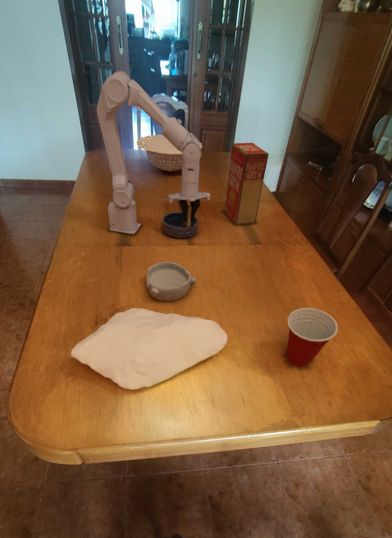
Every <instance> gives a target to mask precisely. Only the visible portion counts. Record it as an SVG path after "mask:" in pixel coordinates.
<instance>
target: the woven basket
mask: <svg viewBox="0 0 392 538" xmlns="http://www.w3.org/2000/svg"><path fill="white" fill-rule="evenodd" d="M199 143H200V146H201V149H203V145H202V143H201V142H199ZM136 145H137V146H138V148H140V149H143V150H144V151H145V152H146V156H147V158H148V160H149V162H150V163H151V164H152V165H153V166H154V167H156V168H157V169H159V170H163V171H167V172H169V173H171V172H173V171H179V170H182V165H183V156H182V152H181V151H178V150H177V149H176V148H175V147H174V146H173V145H172V144H171V143H170V142H169V141H168V140H167V139H166V138H165V137H164V136H163V134H162V133H161V134H153V135H152V134H151V135H146V136H141V137H140V138H139V139H137V140H136Z"/></svg>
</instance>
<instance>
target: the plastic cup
mask: <svg viewBox="0 0 392 538" xmlns="http://www.w3.org/2000/svg"><path fill="white" fill-rule="evenodd" d="M287 327H288V337H287V345H286V346H287V347H286V351H285V353H286V359H287V361H288V362H289V363H290V364H291V365H293V366H296V367H299V368H300V367H301V368H302V367H306V366H308V365H309V364H310V363H311V362H312V361H313V360H314V358H316V357H317V356H318V354H319V353H320V352H321V350H322V349H323V348H324V347H325V346H326V344H328V342H329V341H330V340H332V338H334V337H335V336H336V335H337V333H338V330H339V326H338V323H337V320H335V319H334V317H333V316H332V315H331V314H330V313H327V312H326V311H324V310H321V309H319V308H314V307H300V308H297V309H295V310H293V311H292V312H290V313H289V315H288V316H287Z"/></svg>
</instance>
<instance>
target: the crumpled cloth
mask: <svg viewBox="0 0 392 538" xmlns="http://www.w3.org/2000/svg"><path fill="white" fill-rule="evenodd" d="M228 340H229V337H228V334H227V333H226V331H225V330H224V329H223V328H222V327H221V325H220V324H219V323H218V322H217V321H215V320H212V319H206V318H202V317H199V316H185V315H181V314H178V313H172V312H169V313H163V312H158V311H153V310H150V309H146V308H141V307H139V308H138V307H132V308H129V309H128V310H125V311H121V312H116V313H115V314H113V316H111V317H110V318H109V320H108V321H107V322H105V323H103V324H102V325H100V326H99V327H98V328H97V330H95V331H94V332H93V333H91V334H89V335H88V336H87V337H85V338H84V339H82V340H81V341H79V342H78V343H77V344H75V345H74V347H73V348H72V349H71V352H70V356H71V358H74V359H75V360H77V361H79V362H80V363H81V364H83V365H87V366H89V367H90V369H91V370H93V371H94V372H96V373H98V374H99V375H101V376H102V377H104V378H108V379H110V380H111V381H112V382H113V383H115V384H117V385H118V386H119V387H120V388H122V389H125V390H129V391H134V390H135V391H136V390H140V389H143V388H151V387H152V386H154V385H158V384H159V383H161V382H164V381H167V380H169V379H170V378H173V377H174V376H176V375H178V374H179V373H181V372H184V371H185V370H186V369H189V368H191V367H193V366H195V365H196V364H198V363H200V362H203V361H205V360H207V359H209V358H210V357H212V356H215V355H217V354H218V353H219V352H221V351H222V350H223V349H224V348H225V347H226V345H227V343H228Z"/></svg>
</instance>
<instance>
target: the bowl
mask: <svg viewBox="0 0 392 538" xmlns="http://www.w3.org/2000/svg"><path fill="white" fill-rule="evenodd" d="M184 222H185V221H184V217H183V212H182V211H173V212H168V213H166V214H164V215H163V216H162V218H161V223H162V224H161V228H162V229H161V230H162V232H163V233H164V234H165V235H167V236H169V237H171V238H175V239H188V238H191V237H195V235H197V234H198V232H199V225H200V220H199V217H197V216H196V215H195V216H194V220H193V222H191V227H184V225H183V224H184Z"/></svg>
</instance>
